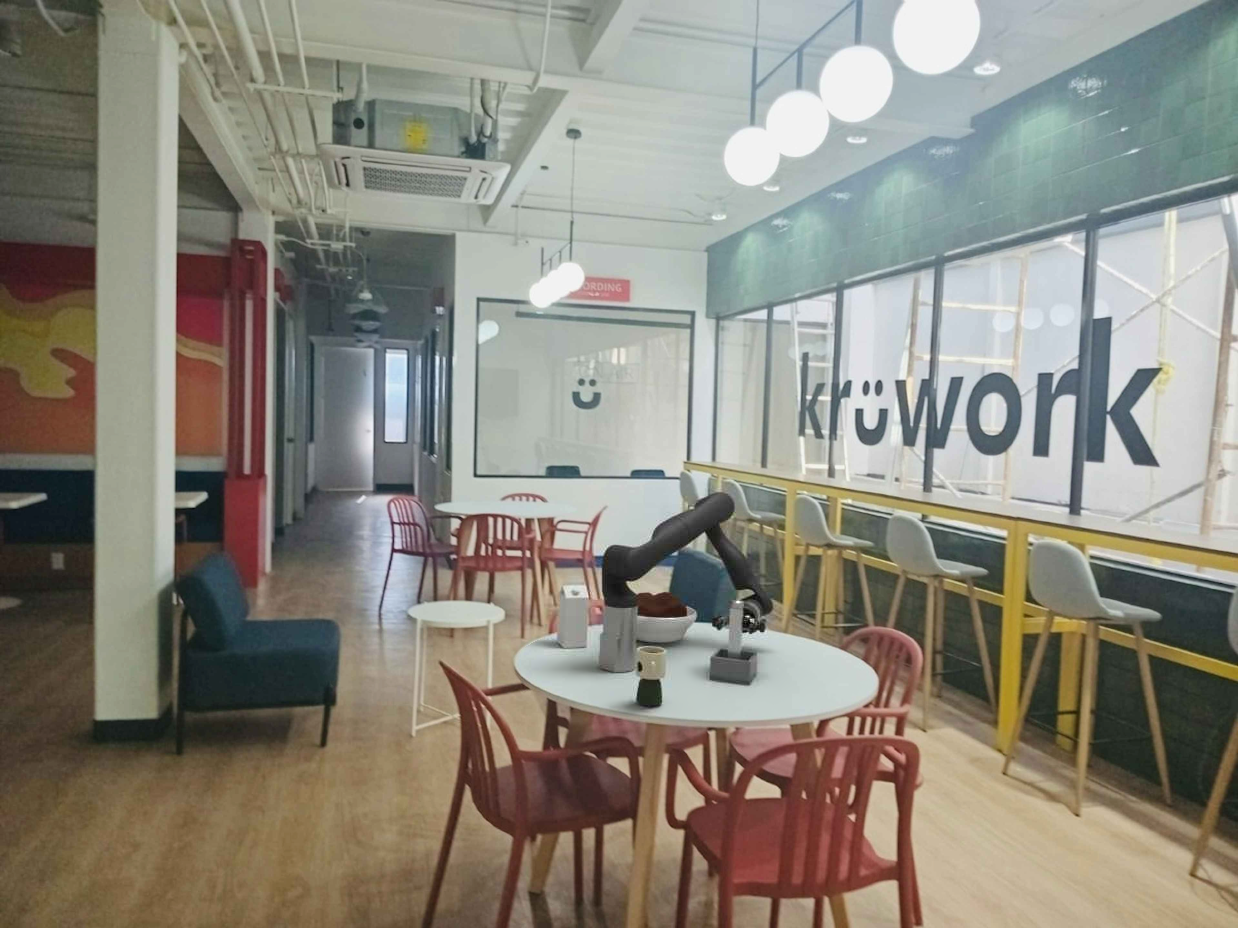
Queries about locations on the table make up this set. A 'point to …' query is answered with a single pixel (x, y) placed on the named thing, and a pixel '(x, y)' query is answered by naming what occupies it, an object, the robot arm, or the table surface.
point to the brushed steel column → (735, 629)
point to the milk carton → (573, 615)
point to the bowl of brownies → (662, 618)
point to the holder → (733, 667)
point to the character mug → (650, 674)
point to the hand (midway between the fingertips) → (734, 628)
